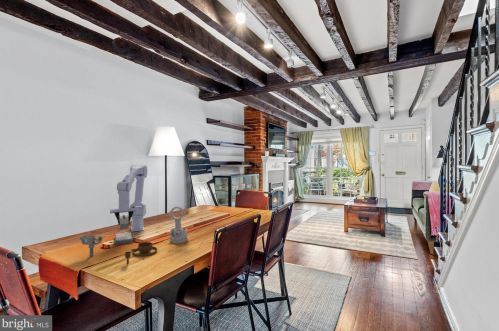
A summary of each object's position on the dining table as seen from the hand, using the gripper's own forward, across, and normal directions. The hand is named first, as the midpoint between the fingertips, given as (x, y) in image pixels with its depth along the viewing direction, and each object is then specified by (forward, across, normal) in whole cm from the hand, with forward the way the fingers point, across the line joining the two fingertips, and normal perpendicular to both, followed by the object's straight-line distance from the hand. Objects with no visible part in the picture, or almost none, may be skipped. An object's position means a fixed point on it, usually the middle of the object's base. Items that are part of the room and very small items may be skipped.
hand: (123, 224), depth 150 cm
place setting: (+10, +6, -27) cm, 30 cm away
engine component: (+10, +29, -13) cm, 33 cm away
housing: (+2, 0, 0) cm, 2 cm away
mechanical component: (+10, -15, -20) cm, 27 cm away
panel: (+9, 0, 0) cm, 9 cm away
